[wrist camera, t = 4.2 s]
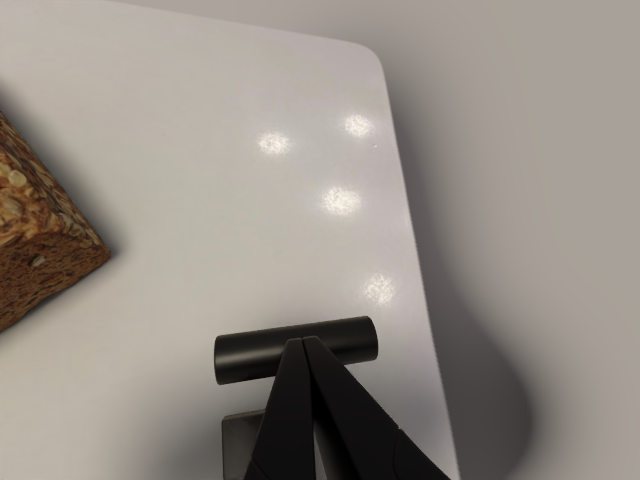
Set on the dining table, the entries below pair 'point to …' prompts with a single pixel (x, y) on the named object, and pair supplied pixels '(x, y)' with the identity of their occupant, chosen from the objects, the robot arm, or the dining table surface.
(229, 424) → the bracket
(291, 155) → the dining table surface
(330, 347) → the lever
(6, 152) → the bread
